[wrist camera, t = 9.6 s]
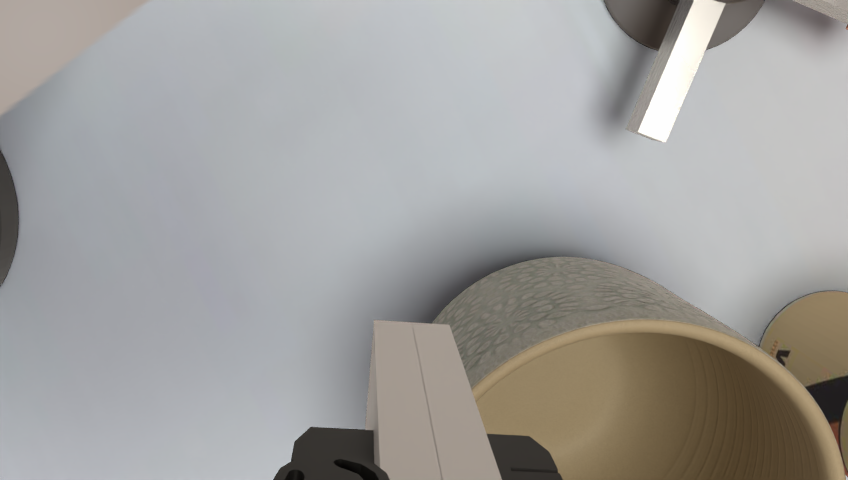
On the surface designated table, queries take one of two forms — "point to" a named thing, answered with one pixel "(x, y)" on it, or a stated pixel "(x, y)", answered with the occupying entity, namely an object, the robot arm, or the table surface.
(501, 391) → the planter
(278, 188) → the table surface
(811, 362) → the coffee cup
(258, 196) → the table surface
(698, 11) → the silver cross-shaped piece
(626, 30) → the stand
